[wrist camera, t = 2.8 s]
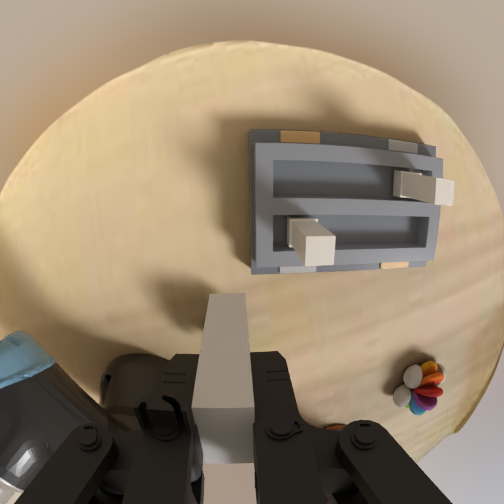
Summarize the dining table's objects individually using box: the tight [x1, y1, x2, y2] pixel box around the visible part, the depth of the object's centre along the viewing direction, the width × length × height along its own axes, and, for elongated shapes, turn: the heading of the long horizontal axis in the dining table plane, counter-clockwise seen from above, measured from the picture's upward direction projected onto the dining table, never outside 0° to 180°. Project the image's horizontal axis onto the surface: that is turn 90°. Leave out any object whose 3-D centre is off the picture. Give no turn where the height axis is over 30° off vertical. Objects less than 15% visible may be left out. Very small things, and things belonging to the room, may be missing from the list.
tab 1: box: [286, 216, 336, 266], centre depth 26 cm, size 3×3×8 cm
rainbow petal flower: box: [393, 361, 446, 415], centre depth 38 cm, size 8×10×7 cm
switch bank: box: [249, 129, 443, 275], centre depth 30 cm, size 22×15×4 cm
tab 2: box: [393, 170, 455, 206], centre depth 26 cm, size 3×3×8 cm
